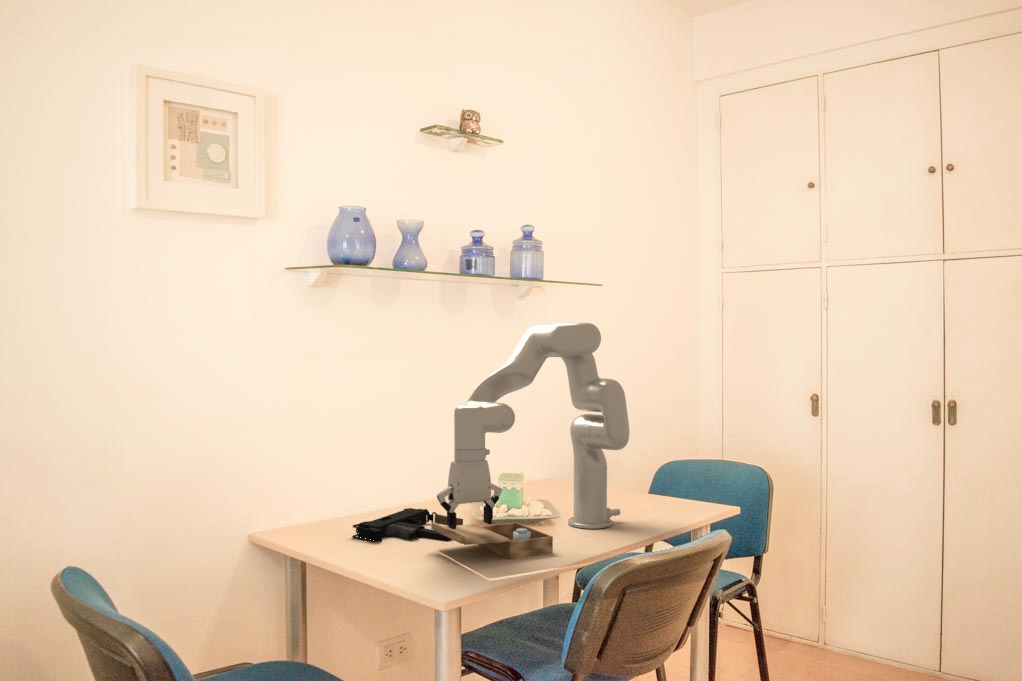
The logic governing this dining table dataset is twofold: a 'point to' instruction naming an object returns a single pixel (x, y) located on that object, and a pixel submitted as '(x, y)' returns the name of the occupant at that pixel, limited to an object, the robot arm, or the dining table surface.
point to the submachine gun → (403, 526)
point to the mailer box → (519, 542)
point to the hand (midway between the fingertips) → (470, 525)
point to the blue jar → (521, 534)
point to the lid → (469, 534)
